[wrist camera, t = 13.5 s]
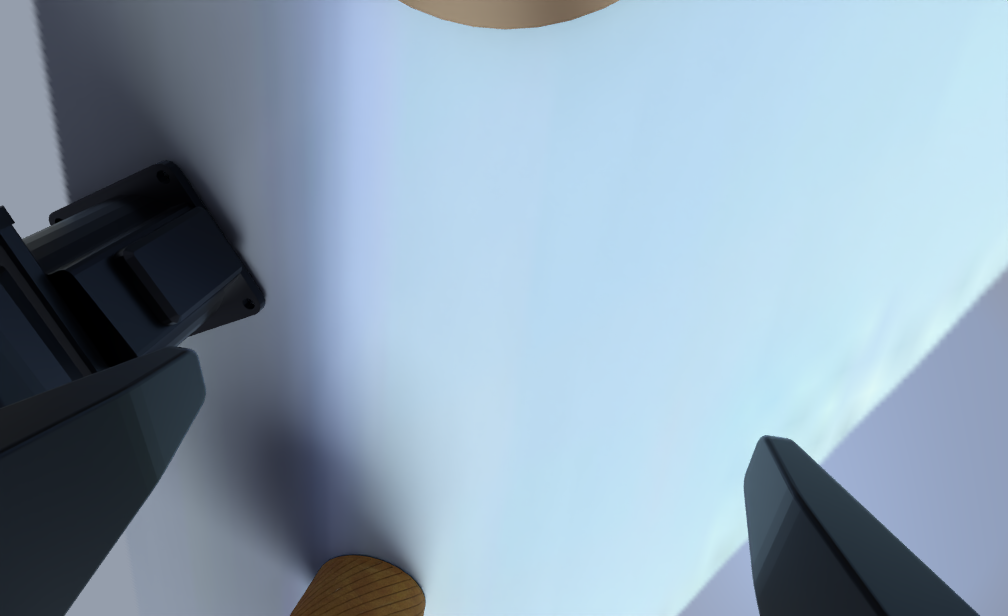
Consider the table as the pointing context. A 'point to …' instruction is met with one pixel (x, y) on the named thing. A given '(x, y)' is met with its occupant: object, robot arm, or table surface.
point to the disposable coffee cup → (361, 590)
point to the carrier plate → (508, 11)
